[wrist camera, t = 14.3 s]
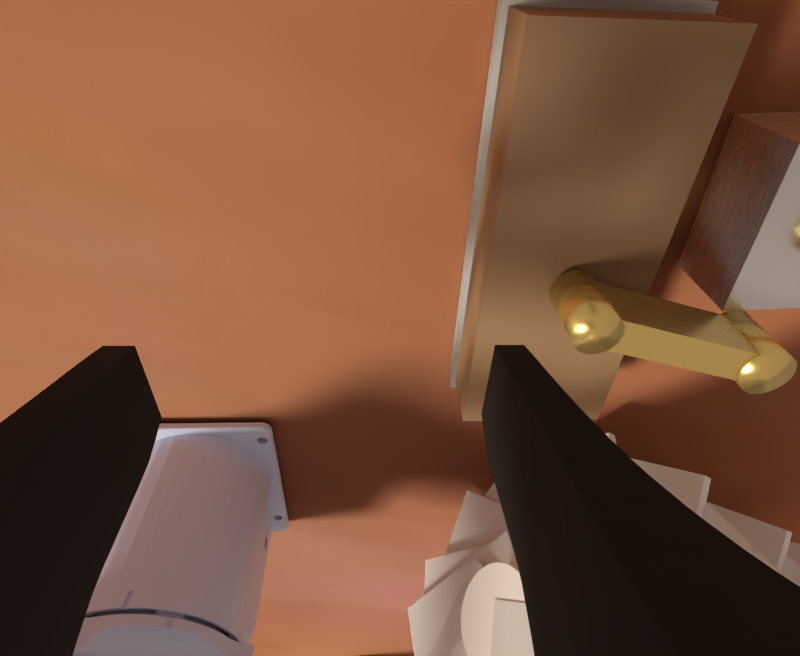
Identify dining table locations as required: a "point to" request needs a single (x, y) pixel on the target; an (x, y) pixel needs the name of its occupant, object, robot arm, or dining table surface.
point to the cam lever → (669, 333)
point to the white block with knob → (751, 217)
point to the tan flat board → (583, 169)
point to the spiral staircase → (501, 584)
